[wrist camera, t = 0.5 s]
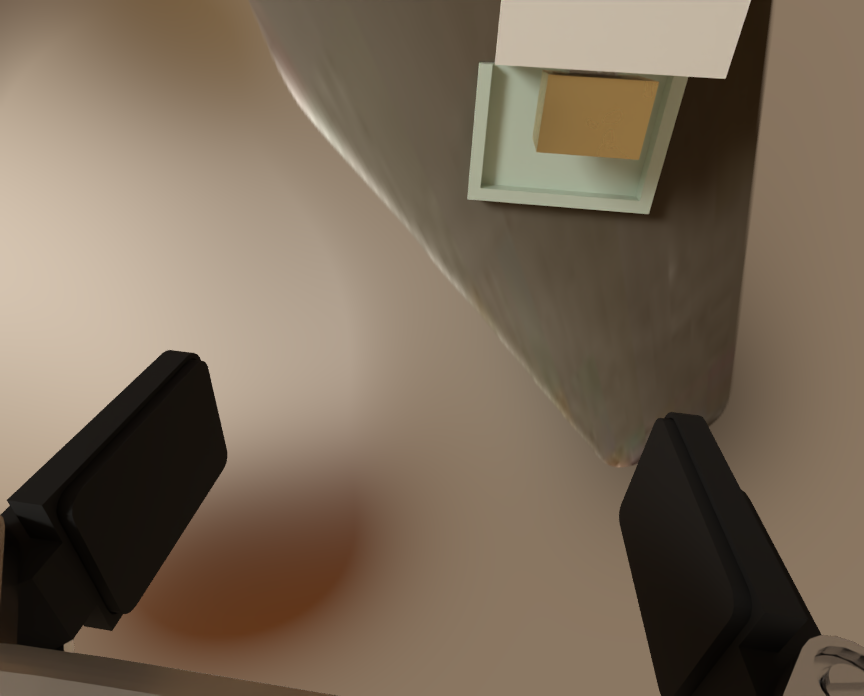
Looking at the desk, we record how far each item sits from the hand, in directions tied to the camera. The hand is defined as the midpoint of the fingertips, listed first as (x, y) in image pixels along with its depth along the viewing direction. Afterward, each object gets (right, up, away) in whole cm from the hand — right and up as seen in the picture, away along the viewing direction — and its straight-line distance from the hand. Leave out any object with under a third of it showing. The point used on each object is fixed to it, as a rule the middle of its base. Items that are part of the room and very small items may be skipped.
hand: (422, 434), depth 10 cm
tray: (+9, +16, +22) cm, 29 cm away
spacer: (+8, +15, +17) cm, 24 cm away
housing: (+9, +21, +18) cm, 30 cm away
